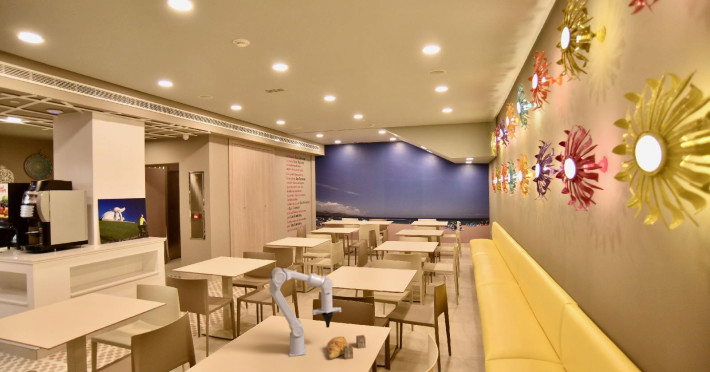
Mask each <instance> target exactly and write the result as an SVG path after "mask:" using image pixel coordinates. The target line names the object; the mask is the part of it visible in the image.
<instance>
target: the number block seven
mask: <svg viewBox="0 0 710 372" xmlns="http://www.w3.org/2000/svg"><path fill="white" fill-rule="evenodd" d="M355 338H356V342H355V344H356V347H357V349H365V348H366V336H365V334H359V335H356V337H355Z"/></svg>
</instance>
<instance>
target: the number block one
mask: <svg viewBox="0 0 710 372" xmlns="http://www.w3.org/2000/svg"><path fill="white" fill-rule="evenodd" d="M353 349H354V348H353V346H352V344H347V345H345V346H343V352H344V353H343V358H344V360H345V361H346V360H351V359H354V350H353Z"/></svg>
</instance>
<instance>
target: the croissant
mask: <svg viewBox="0 0 710 372" xmlns="http://www.w3.org/2000/svg"><path fill="white" fill-rule="evenodd" d="M326 345H327V352H328V357H329V359H330V360H331V359H336V358H339V357H340V356H342V355H344V352H343V346H345V345H348V342H347V339H346V338H345V336H335V337H332V338H331V339H330V340H329V341H328V342H327V344H326Z"/></svg>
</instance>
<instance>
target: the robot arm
mask: <svg viewBox="0 0 710 372" xmlns="http://www.w3.org/2000/svg"><path fill="white" fill-rule="evenodd" d="M292 279H295V280H298V281H302V282H306V284H307V286H308V285H310V286H313V287H316V288H320V291H321V292H320V297H321V298H320V299H321V301H320V302H321V308H317V309H313V310H312V314H313V316H314V315H315V316H316V315H322V317H323V318H322V319H324V322H325V328H328V329H329V328H330V325H331V321H332V318H333V316H334V313H342V307H336V306H335V307H333V287H334V283H333V280H332V279H330V278H329V277H328V276H326V275H319V274H316V273H315V272H313V273H311V272H310V273H309V274H305V273H302V272H299V271H295V270H292V269H289V268H284V267H283V268H281V267H278V266H277V267H274V268H273V269H272V271H271V273H270V274H269V285H268V290H269V293H270V295H271V296H272V298H273V300H274V301H275V303H276V305H277V307H278V308H279V310H280V312H281V313H282V315H283V316H284V317H285V320H286V321H287V323H288V327H289V329H290V332H289V348H288V350H289V357H294V356H295V357H297V356H303V355H306V354H307V352H306V346H305V327H304V325H303V324H302V321H301V320H300V319H299V318H297V316H296V315H295V314H294V313H295V312H293V310H292V308H291V307H290V305H289V304H288V302H287V300H286V298H285V296H284V295H283V293H282V291H281V287H282V285H283V284H284V282H285V281H287V282H288V281H289V280H292Z"/></svg>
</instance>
